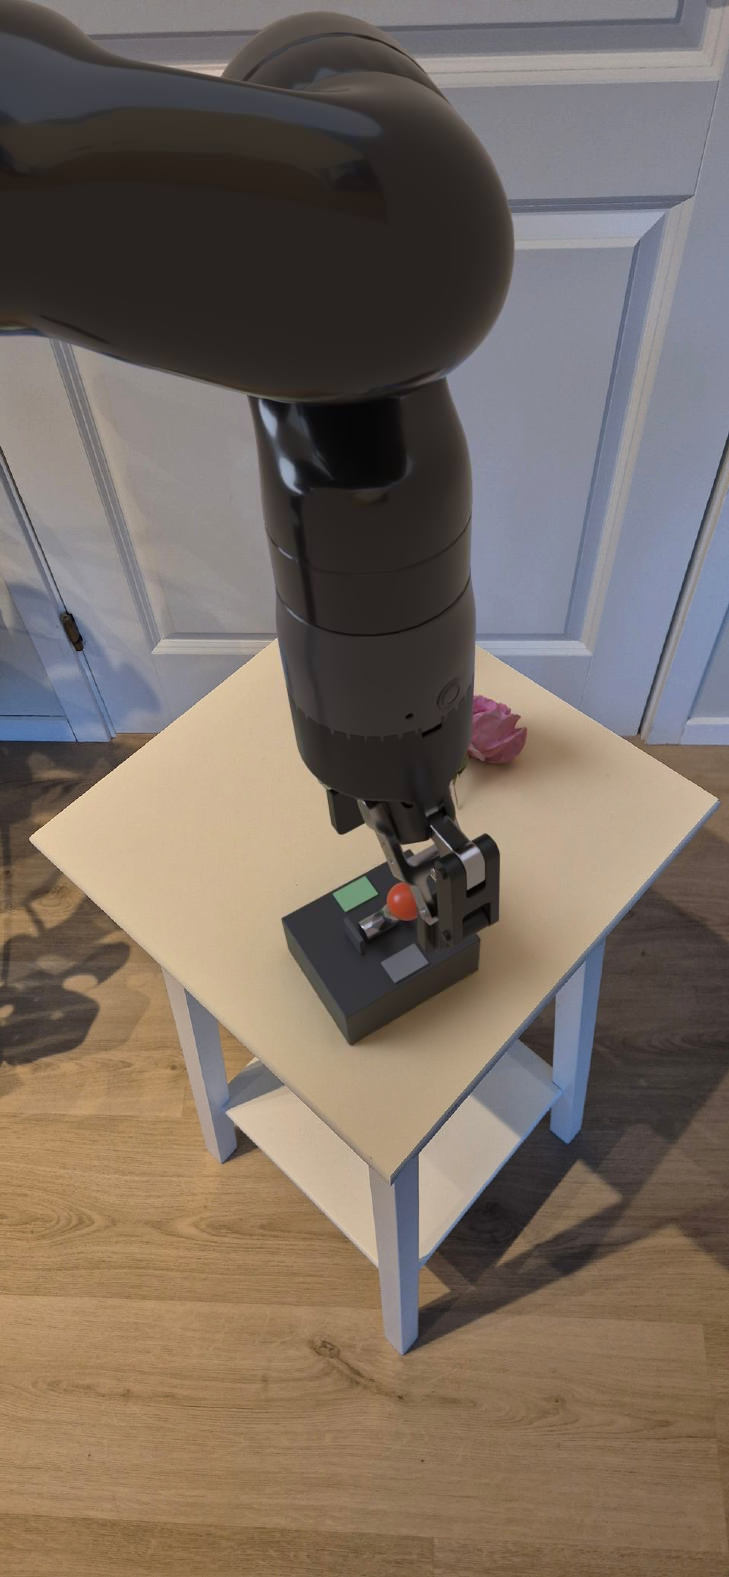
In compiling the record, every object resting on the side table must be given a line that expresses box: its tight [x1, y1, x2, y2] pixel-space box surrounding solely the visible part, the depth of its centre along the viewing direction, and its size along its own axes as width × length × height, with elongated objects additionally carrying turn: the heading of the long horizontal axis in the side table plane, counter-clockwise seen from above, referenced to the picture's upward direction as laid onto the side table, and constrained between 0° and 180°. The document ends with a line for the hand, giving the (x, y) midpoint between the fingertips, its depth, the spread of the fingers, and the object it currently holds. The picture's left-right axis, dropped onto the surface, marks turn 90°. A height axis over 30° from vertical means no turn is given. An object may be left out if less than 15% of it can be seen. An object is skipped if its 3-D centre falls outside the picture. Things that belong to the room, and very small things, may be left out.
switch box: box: [280, 848, 482, 1046], centre depth 78 cm, size 12×10×7 cm
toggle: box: [357, 882, 417, 941], centre depth 71 cm, size 3×3×12 cm
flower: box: [451, 694, 528, 810], centre depth 90 cm, size 11×10×10 cm
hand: (394, 879), depth 52 cm, fingers open, 8 cm apart
